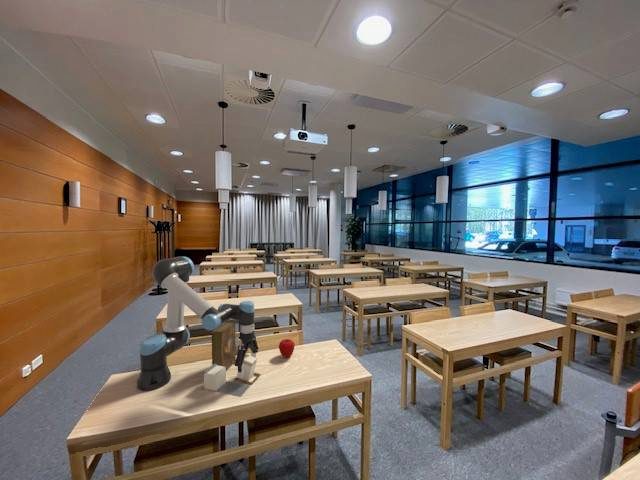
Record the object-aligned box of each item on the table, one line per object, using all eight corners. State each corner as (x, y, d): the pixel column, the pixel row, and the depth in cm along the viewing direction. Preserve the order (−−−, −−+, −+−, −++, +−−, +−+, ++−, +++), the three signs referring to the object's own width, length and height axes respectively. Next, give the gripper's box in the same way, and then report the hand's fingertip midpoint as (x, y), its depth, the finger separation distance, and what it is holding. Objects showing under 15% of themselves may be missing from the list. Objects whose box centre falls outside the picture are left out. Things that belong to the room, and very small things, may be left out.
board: (201, 391, 132) (201, 388, 132) (213, 380, 141) (213, 378, 141) (240, 399, 126) (240, 396, 126) (250, 388, 135) (250, 385, 135)
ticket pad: (203, 388, 132) (203, 371, 132) (214, 379, 140) (214, 363, 139) (215, 391, 130) (215, 374, 130) (226, 381, 138) (225, 365, 138)
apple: (276, 358, 165) (275, 341, 165) (284, 351, 174) (284, 335, 173) (289, 361, 161) (289, 344, 161) (297, 354, 170) (297, 337, 169)
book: (228, 361, 161) (228, 321, 159) (236, 362, 160) (236, 321, 158) (212, 376, 145) (211, 331, 143) (221, 377, 143) (220, 332, 142)
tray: (234, 383, 139) (234, 379, 139) (243, 374, 147) (243, 370, 147) (252, 386, 136) (252, 382, 136) (260, 377, 144) (260, 373, 144)
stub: (236, 377, 140) (240, 358, 139) (241, 372, 145) (245, 353, 144) (248, 382, 138) (252, 362, 137) (253, 377, 143) (257, 358, 142)
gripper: (240, 341, 127) (240, 385, 128) (264, 323, 151) (264, 360, 152) (226, 339, 129) (227, 382, 130) (252, 322, 153) (252, 358, 154)
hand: (247, 370), depth 141 cm, fingers open, 12 cm apart
